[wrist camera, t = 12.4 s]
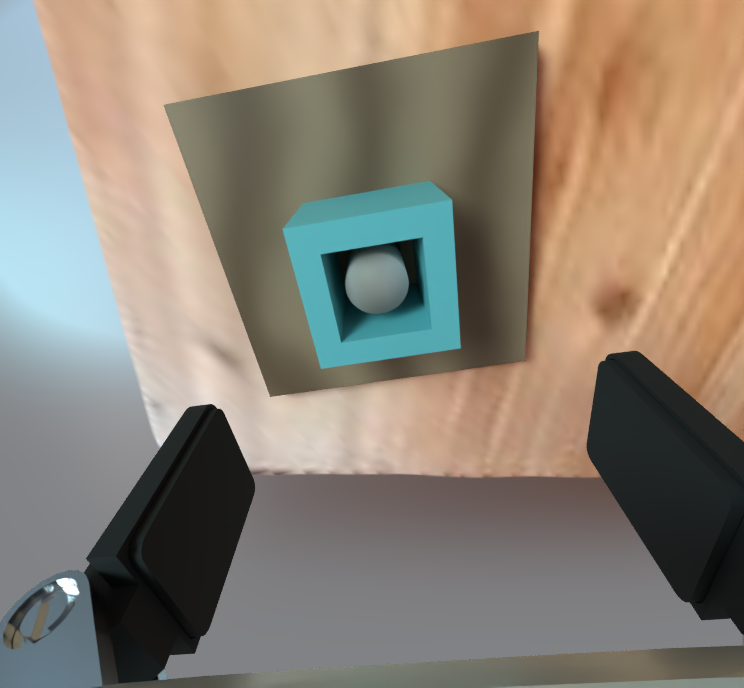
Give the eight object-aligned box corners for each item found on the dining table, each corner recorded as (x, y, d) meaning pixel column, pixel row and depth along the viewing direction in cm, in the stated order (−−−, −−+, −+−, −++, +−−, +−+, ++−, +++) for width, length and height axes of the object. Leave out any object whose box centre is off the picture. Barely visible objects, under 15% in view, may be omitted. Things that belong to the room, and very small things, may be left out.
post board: (526, 37, 19) (595, 0, 13) (517, 349, 28) (556, 407, 22) (176, 106, 20) (102, 98, 14) (274, 384, 29) (252, 447, 23)
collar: (430, 180, 21) (452, 199, 15) (440, 299, 24) (460, 348, 19) (303, 203, 21) (282, 229, 16) (330, 316, 25) (320, 368, 19)
